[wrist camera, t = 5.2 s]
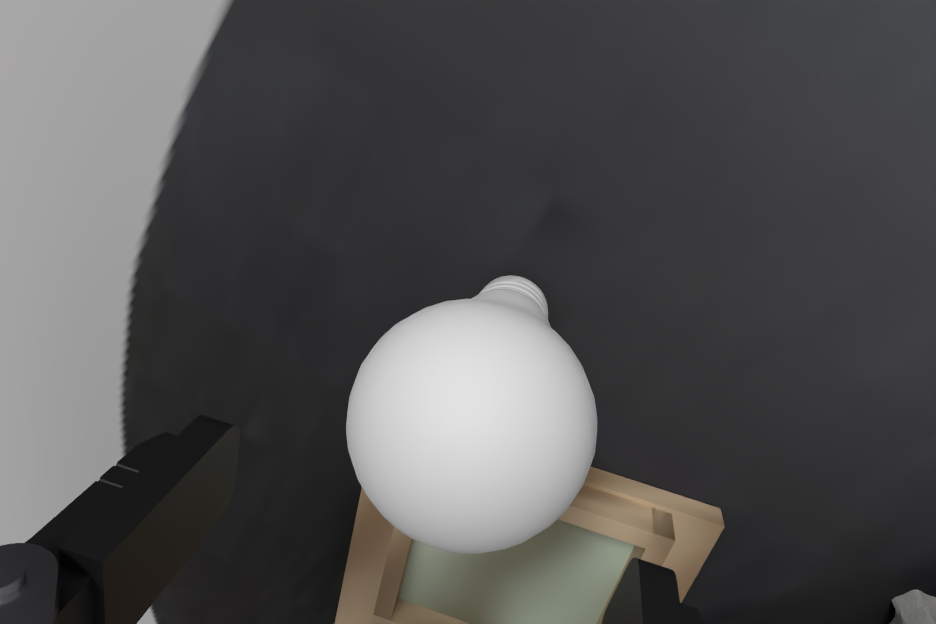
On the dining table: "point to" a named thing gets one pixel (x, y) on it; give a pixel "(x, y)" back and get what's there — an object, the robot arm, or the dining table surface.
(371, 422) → the lightbulb
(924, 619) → the egg carton
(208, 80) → the dining table surface
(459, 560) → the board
